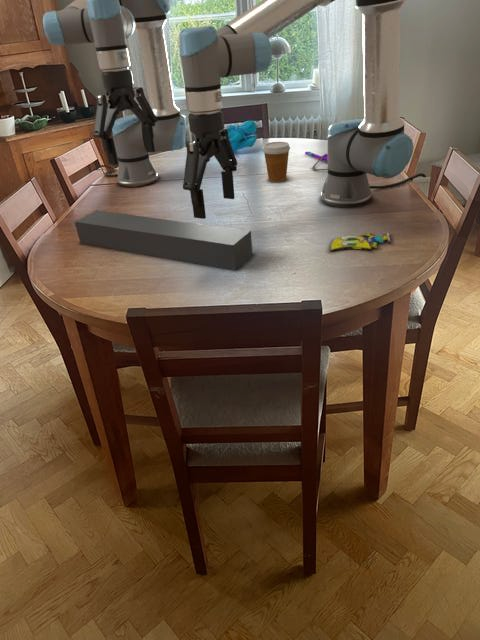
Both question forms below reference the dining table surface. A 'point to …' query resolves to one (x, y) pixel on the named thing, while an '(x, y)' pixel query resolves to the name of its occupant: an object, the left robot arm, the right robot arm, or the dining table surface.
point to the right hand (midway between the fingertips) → (215, 207)
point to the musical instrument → (324, 158)
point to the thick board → (167, 238)
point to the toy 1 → (242, 135)
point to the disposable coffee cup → (276, 160)
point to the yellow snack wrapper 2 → (358, 242)
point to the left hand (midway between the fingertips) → (132, 157)
